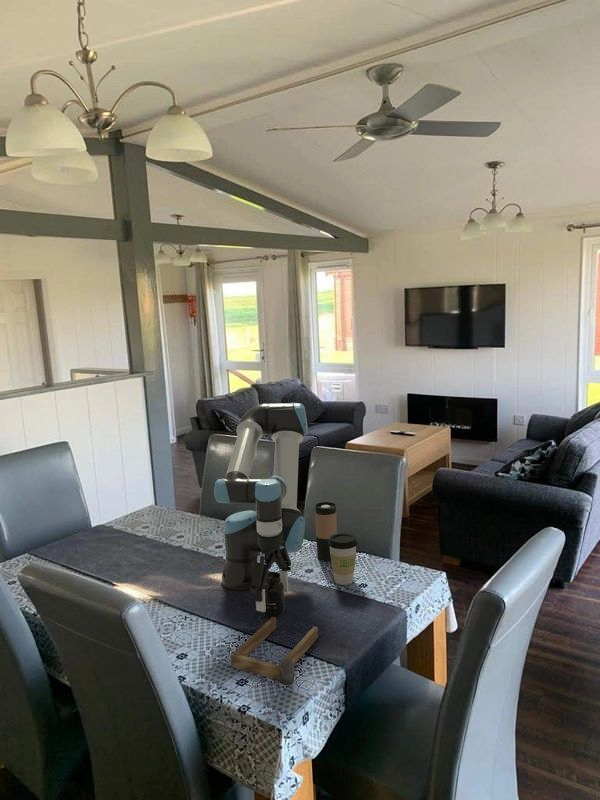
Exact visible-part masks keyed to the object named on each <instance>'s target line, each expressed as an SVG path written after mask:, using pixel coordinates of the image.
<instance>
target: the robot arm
mask: <svg viewBox="0 0 600 800" xmlns="http://www.w3.org/2000/svg"><path fill="white" fill-rule="evenodd" d="M236 434H237V435H236V436H237V437H236V440H235V443H234V446H233V450H232V453H231V456H230V460H229V463H228V467H227V470H226V474H225V476H224V477H225V478H218V479H217V480H216V481H215V483H214V488H213V494H214V499H215V501H216V502H217V503H218V504H220V503H221V504H255V510H244V511H238V512H235V513H233V514H231V515H229V516H228V517H226V518H225V521H224V523H223V524H224V525H223V526H224V527H223V529H224V530H223V535H224V547H225V549H224V550H225V564H224V567H223V571H222V573H221V574H222V575H221V583H222V585H223V586H224V587H225V588H226V589H228V590H229V589H230V590H233V591H249V590H250V591H253V592H254V594H255V606H256V608H255V611H257V612H261V613H262V612H265V611H266V606H265V590H264V589H263V587H264V584H265V581H266V577H267V574H268V572H269V571H270V569H271V568H272V566H273V564H276V565H277V567H278V568H279V570H278V573H279V574H280V579H281V581H280V582H282V583H283V585H284V593H288V592H289V582H288V581H289V577H288V572H290V571H291V568H292V567H291V566H292V562H291V559H290V555H289V553H291V554H292V553H297V552H299V551H300V550H301V549H302V547H303V543H304V538H305V529H306V528H305V527H306V519H305V517H304V516H302V515H301V514H302V512H301V510H299V508H297V505H298V504H297V503H298V480H299V479H298V478H299V457H300V456H299V453H300V452H299V450H300V444H301V443H302V442H303V441H304V436H306V435H308V434H309V427H308V419H307V413H306V409H305V405H304V404H303V403H298V402H287V403H286V402H285V403H284V402H283V403H279V402H278V403H268V402H266V403H260V404H258V405H254V406H253V407H251V408H250V409H249V410H247V411H246V412H245V413H244V414H243V416H241V418H240V419H239V421H238V424H237V427H236ZM263 436H270V437H271V440H272V442H274V454H273V455H274V457H273V458H274V459H273V474H272V475H271V476H270V477H268V478H250V476H251V471H252V467H253V464H254V460H255V456H256V452H257V448H258V444H259V441H260V440H261V439H262V438H263Z"/></svg>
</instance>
